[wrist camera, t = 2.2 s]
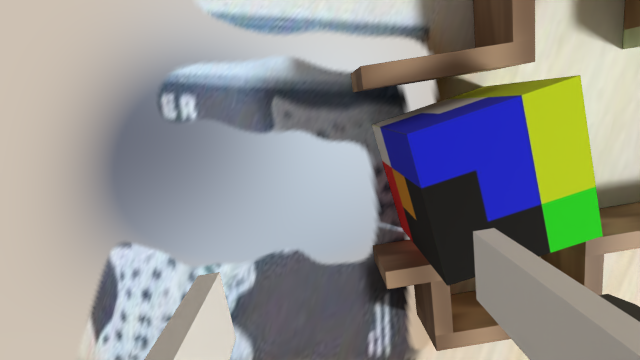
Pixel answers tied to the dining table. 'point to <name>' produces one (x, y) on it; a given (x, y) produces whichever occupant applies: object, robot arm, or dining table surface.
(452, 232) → the puzzle toy
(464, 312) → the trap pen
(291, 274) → the dining table surface
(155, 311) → the dining table surface
